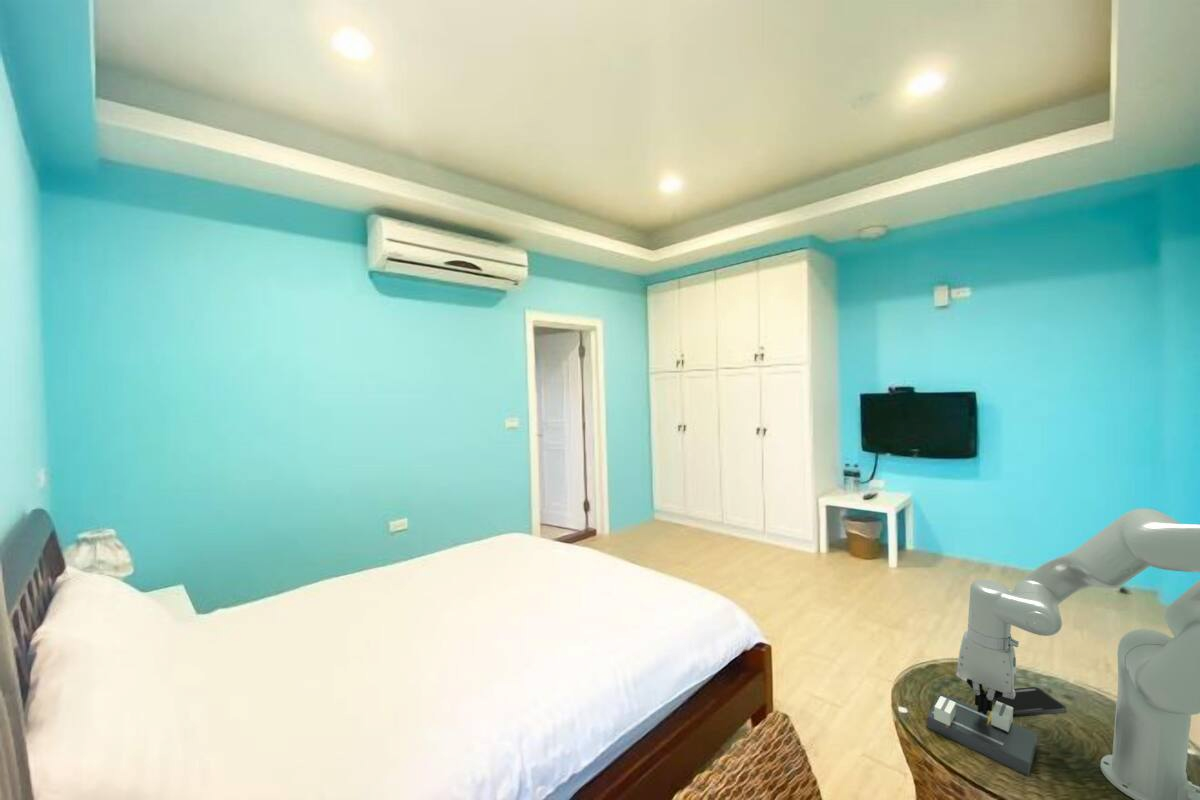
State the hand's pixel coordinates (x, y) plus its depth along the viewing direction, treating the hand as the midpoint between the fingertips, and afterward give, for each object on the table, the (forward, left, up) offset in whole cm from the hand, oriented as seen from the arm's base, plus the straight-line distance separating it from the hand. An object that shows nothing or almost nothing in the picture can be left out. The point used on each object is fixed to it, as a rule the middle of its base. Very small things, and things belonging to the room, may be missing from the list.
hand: (983, 710), depth 112 cm
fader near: (+6, +7, -1) cm, 9 cm away
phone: (-5, -17, -5) cm, 18 cm away
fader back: (-3, 0, -1) cm, 4 cm away
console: (0, +3, -4) cm, 6 cm away
